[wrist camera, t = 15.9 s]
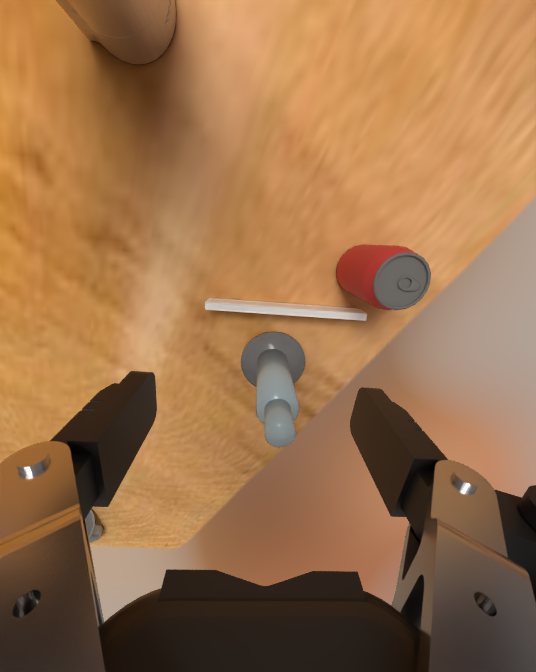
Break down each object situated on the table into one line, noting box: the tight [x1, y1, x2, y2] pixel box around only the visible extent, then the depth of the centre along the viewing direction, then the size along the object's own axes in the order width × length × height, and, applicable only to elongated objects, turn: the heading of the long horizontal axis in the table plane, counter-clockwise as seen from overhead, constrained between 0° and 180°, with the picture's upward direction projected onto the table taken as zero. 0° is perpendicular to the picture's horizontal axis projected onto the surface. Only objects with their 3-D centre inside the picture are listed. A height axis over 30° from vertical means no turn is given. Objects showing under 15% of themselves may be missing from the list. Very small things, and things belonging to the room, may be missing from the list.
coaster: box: [241, 332, 305, 387], centre depth 41 cm, size 10×10×1 cm
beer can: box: [336, 245, 431, 310], centre depth 31 cm, size 7×7×12 cm
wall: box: [205, 298, 367, 321], centre depth 36 cm, size 22×1×3 cm, turn 85°
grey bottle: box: [256, 349, 299, 447], centre depth 33 cm, size 5×5×16 cm
